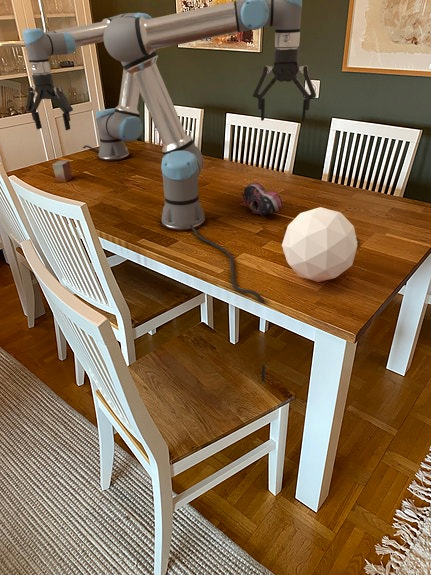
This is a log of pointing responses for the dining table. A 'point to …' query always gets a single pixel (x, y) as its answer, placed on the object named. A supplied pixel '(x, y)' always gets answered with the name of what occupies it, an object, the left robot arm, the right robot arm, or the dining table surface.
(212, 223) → the dining table surface
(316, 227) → the sphere
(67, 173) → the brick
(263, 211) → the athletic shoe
